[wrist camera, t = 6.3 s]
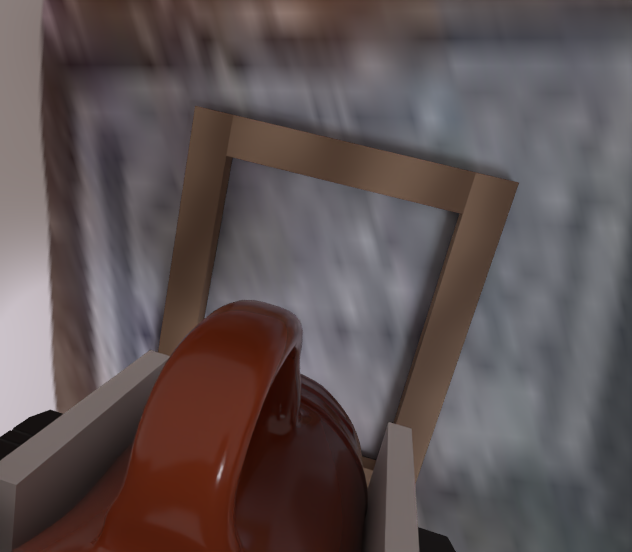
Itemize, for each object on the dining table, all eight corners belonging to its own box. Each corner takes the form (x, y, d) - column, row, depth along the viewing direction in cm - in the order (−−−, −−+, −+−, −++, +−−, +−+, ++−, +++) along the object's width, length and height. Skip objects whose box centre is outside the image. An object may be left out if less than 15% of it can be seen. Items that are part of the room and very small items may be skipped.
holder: (513, 181, 22) (519, 182, 21) (405, 499, 27) (405, 512, 26) (203, 108, 24) (195, 105, 23) (154, 422, 29) (146, 431, 28)
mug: (352, 576, 18) (298, 1100, 8) (142, 502, 18) (-149, 886, 9) (452, 284, 14) (577, 532, 5) (194, 212, 15) (-171, 288, 5)
